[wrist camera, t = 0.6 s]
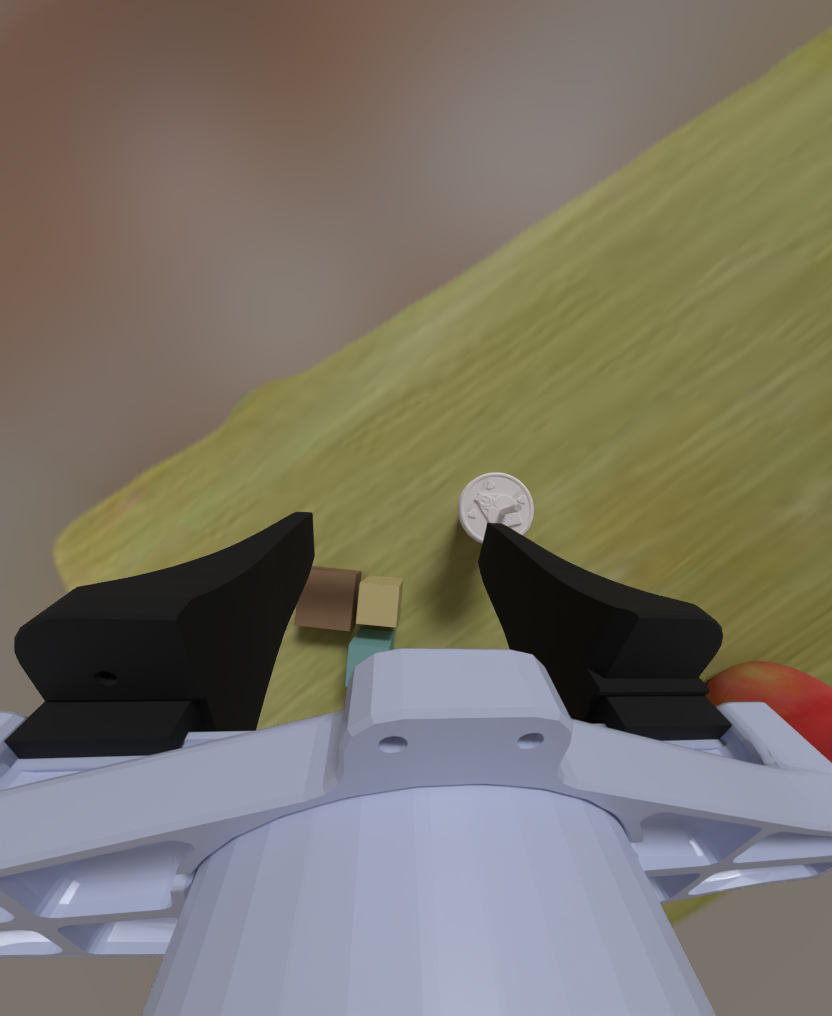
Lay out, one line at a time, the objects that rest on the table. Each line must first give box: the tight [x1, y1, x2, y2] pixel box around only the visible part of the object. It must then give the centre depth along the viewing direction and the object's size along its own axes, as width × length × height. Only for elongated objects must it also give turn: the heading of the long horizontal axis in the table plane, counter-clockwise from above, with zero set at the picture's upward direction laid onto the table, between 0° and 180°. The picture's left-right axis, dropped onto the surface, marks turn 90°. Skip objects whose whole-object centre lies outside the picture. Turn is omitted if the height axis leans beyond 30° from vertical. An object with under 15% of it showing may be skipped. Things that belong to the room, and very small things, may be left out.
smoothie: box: [458, 472, 534, 543], centre depth 28 cm, size 6×6×14 cm
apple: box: [706, 661, 832, 763], centre depth 27 cm, size 10×10×10 cm
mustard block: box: [356, 576, 403, 627], centre depth 32 cm, size 4×4×5 cm
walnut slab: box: [294, 566, 361, 631], centre depth 33 cm, size 6×6×3 cm
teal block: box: [345, 628, 395, 687], centre depth 32 cm, size 4×4×5 cm
